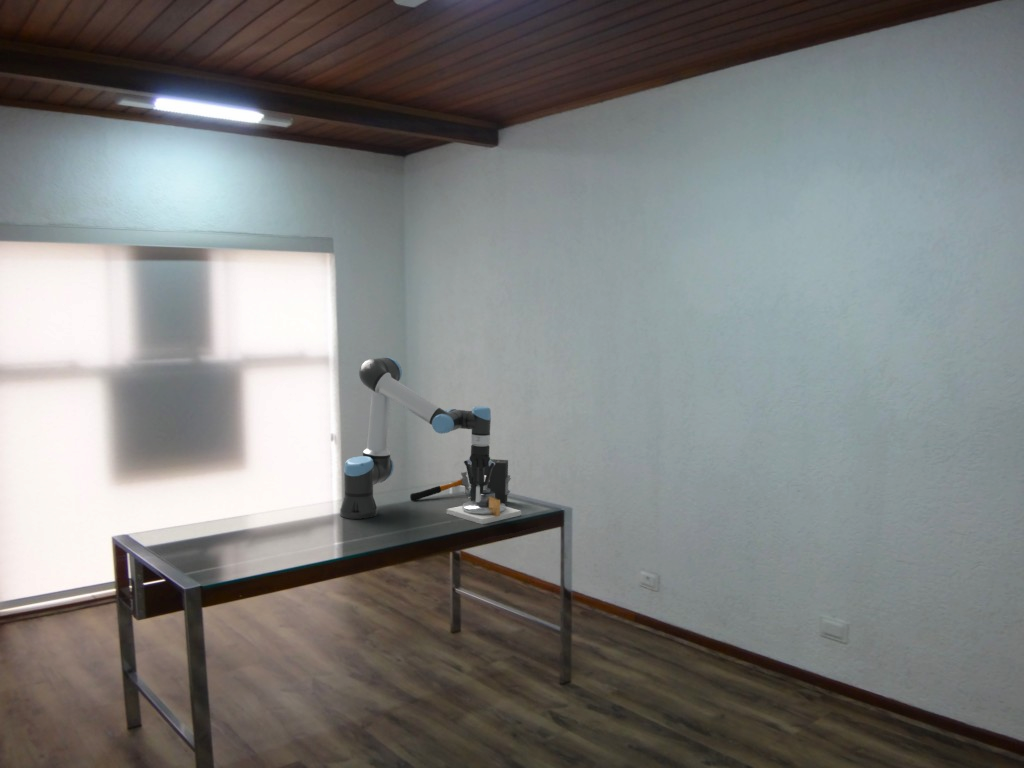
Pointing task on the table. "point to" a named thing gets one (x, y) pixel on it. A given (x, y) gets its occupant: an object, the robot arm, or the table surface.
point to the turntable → (493, 508)
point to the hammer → (442, 488)
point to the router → (495, 480)
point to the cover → (485, 498)
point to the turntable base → (483, 518)
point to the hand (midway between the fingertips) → (478, 501)
